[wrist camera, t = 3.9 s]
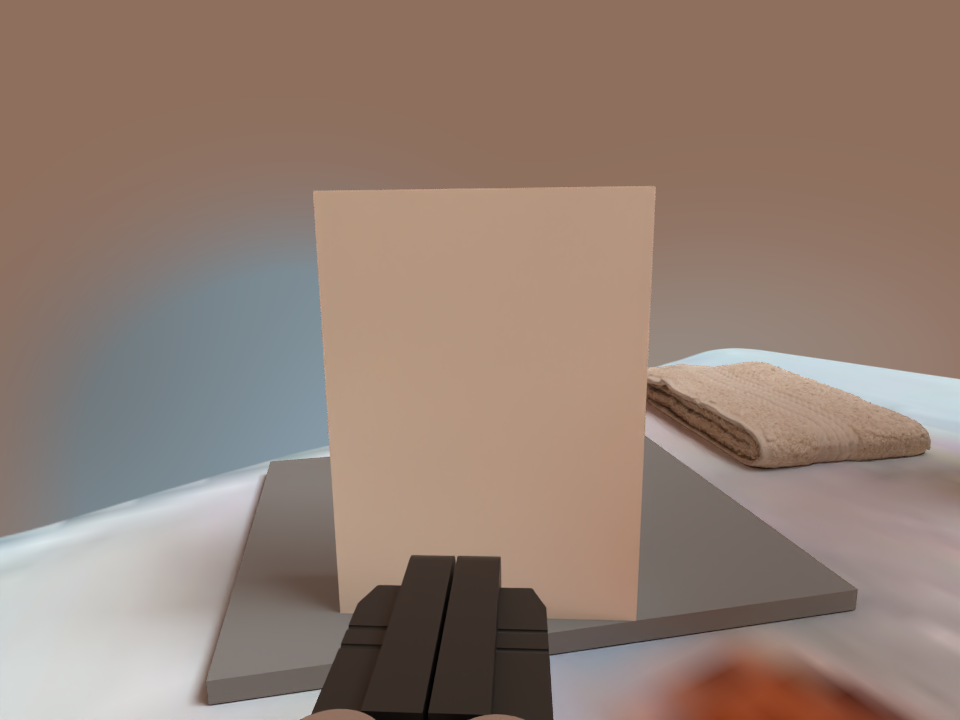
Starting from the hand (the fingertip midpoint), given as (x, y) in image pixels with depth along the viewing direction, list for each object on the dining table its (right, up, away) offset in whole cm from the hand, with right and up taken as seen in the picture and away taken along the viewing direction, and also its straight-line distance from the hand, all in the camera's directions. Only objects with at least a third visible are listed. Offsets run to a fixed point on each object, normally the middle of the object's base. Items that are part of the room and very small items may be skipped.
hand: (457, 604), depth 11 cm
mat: (+1, -4, +19) cm, 20 cm away
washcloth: (+20, -1, +35) cm, 40 cm away
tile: (+1, -4, +12) cm, 13 cm away
